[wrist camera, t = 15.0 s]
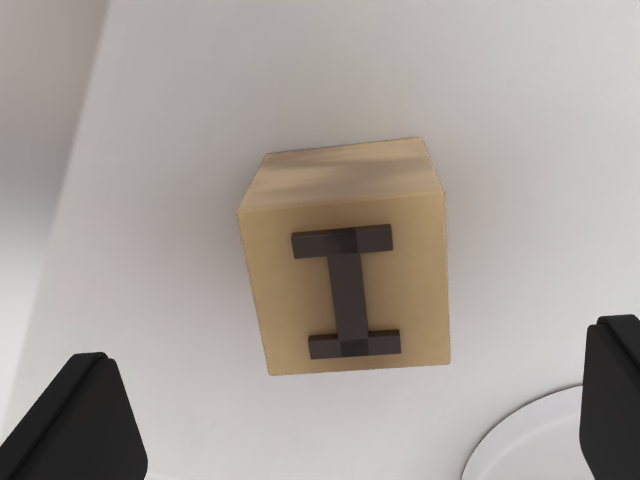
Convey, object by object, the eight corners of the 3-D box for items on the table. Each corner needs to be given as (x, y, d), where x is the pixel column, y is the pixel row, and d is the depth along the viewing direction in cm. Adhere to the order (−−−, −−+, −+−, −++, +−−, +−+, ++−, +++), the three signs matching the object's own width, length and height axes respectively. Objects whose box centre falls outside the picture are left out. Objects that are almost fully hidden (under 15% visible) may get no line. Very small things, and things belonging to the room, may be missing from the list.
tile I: (288, 287, 20) (266, 384, 15) (265, 153, 18) (231, 215, 13) (429, 276, 19) (453, 372, 15) (422, 136, 17) (447, 194, 13)
